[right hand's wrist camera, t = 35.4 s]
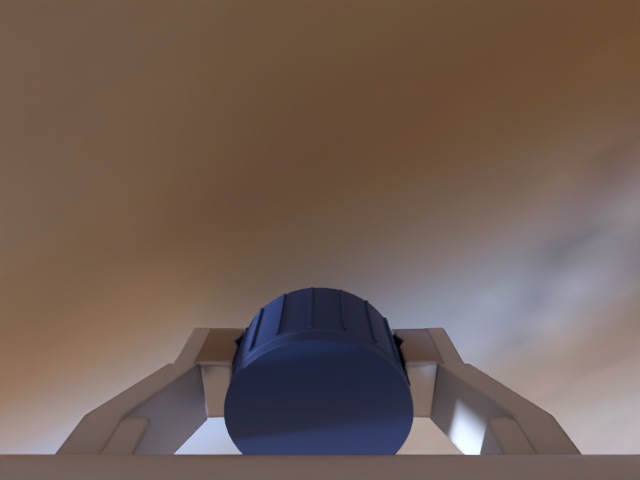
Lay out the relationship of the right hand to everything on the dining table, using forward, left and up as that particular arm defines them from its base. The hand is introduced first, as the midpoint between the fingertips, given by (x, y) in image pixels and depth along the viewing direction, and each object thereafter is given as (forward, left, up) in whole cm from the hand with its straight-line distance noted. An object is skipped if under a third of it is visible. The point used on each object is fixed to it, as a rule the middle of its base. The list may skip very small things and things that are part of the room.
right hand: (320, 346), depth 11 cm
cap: (0, 0, +2) cm, 2 cm away
